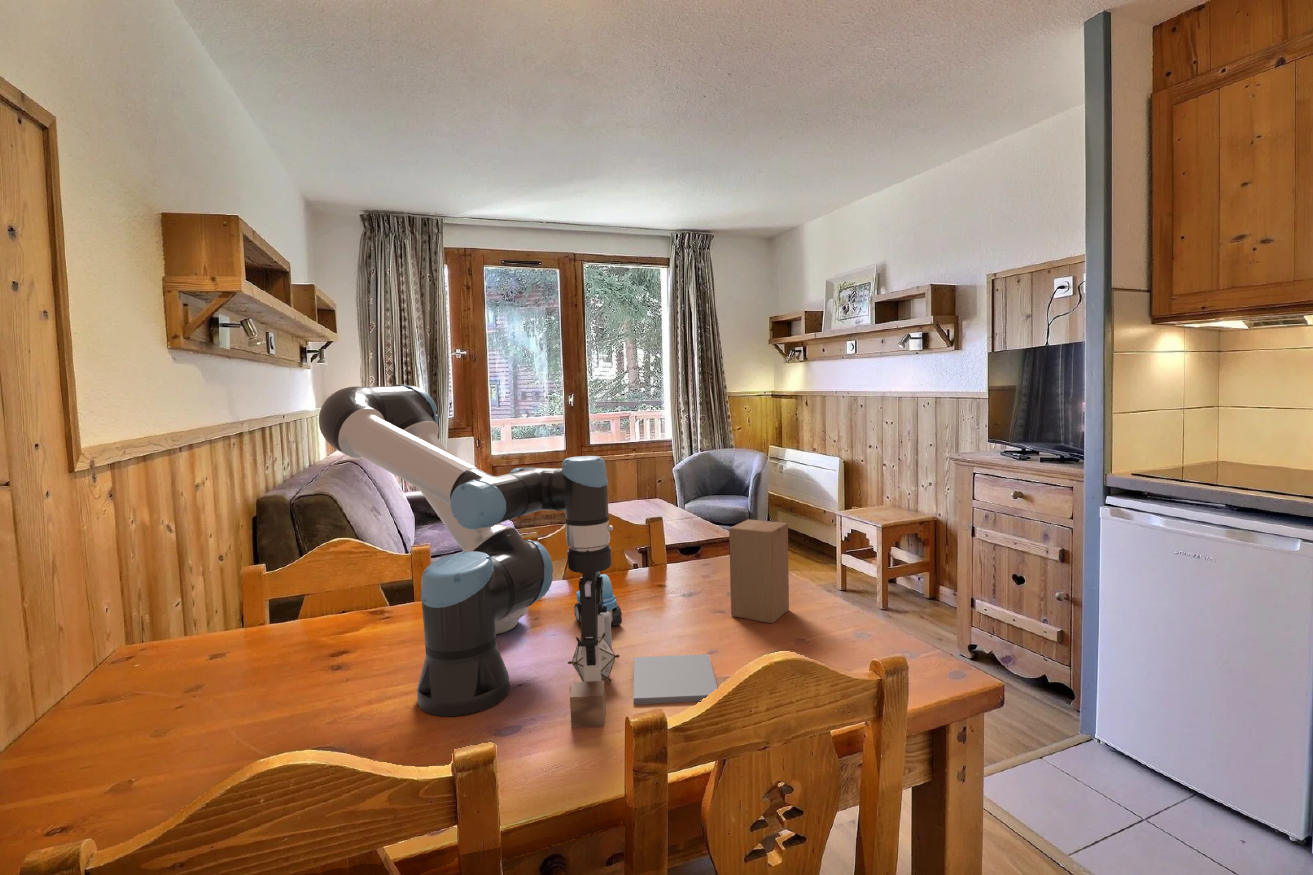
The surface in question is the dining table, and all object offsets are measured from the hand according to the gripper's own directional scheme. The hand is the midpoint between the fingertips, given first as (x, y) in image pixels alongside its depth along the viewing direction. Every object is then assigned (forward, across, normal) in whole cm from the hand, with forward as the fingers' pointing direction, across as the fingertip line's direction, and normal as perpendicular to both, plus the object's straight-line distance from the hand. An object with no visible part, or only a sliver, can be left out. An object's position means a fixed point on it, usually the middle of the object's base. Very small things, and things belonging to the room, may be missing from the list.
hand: (595, 664), depth 115 cm
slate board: (+3, -1, -14) cm, 14 cm away
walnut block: (+3, -13, 0) cm, 13 cm away
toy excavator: (+3, +31, +2) cm, 31 cm away
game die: (+3, 0, 0) cm, 3 cm away
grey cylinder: (+3, +14, 0) cm, 15 cm away
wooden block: (+4, +30, -35) cm, 46 cm away
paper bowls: (+3, +28, +24) cm, 37 cm away
